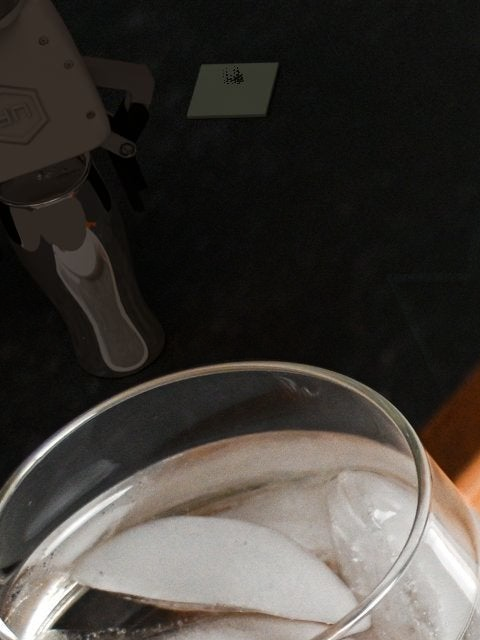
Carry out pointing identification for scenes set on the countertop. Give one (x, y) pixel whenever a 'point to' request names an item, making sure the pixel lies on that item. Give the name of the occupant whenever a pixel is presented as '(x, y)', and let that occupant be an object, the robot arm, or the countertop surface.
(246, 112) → the tile
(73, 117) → the robot arm
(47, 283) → the beer glass
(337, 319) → the countertop surface
